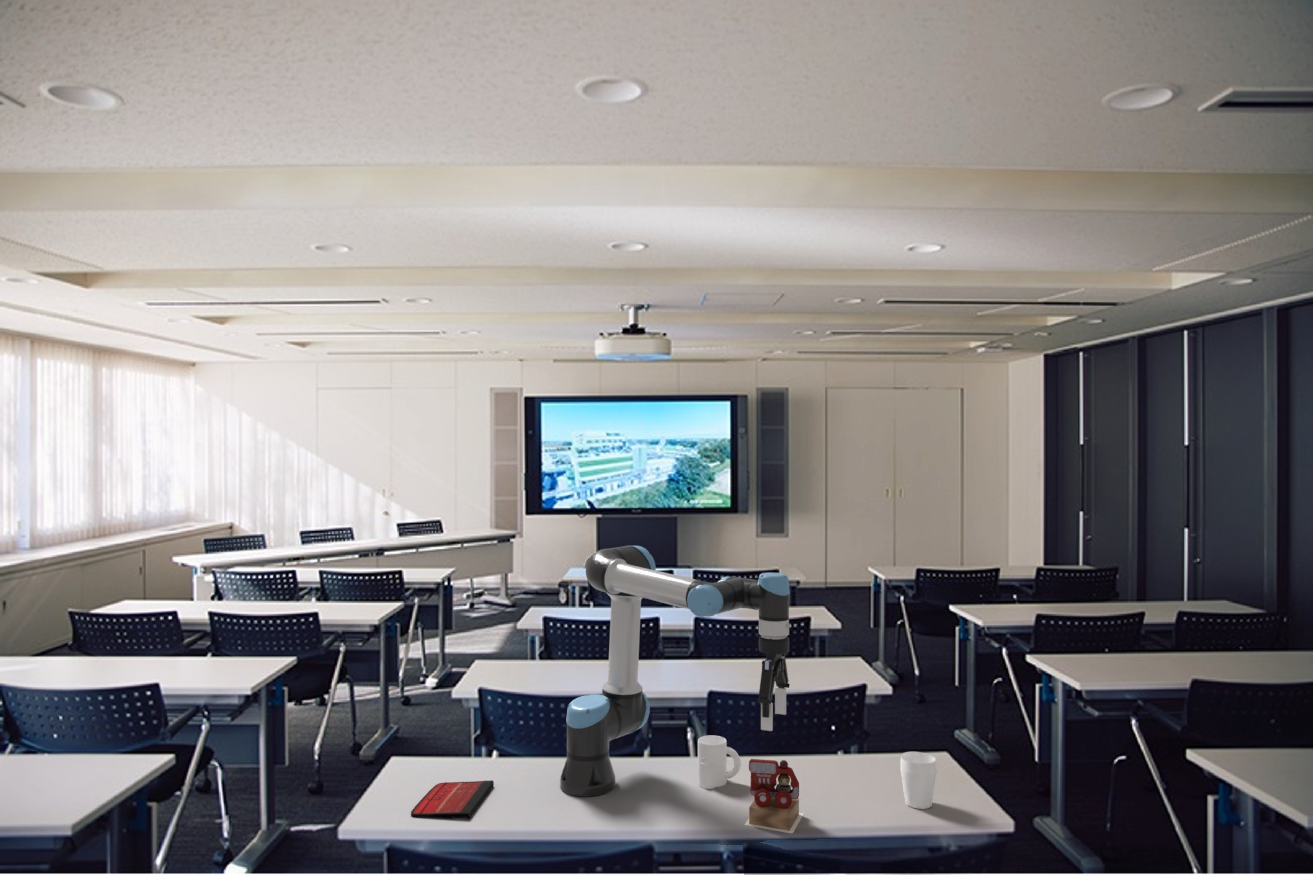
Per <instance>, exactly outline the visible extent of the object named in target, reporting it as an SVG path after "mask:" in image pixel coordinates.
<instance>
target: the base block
mask: <svg viewBox="0 0 1313 875" xmlns="http://www.w3.org/2000/svg"><path fill="white" fill-rule="evenodd" d="M799 805H800V798H799V797H798V798H797V799H792V803H791V805H790V807H788V808H785V809H783V808H780V807H779V806H778V805H777V804H776V802H775V798H772V797H771V802H770V804H769V805H768V806H766V807H760V806H758V805H757V804H756V802H755V800H753V801H752V803H751V804H750V806H749V807H748V808H749V810H748V814H749V816H748V819H749V824H753V825H759V826H765V827H770V828H776V829H781V830H787V831H790V829H791V827H792V826H793V824H794V822H795V820H796V819H797V817H798V815H799V813H800V806H799Z"/></svg>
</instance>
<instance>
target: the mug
mask: <svg viewBox="0 0 1313 875" xmlns="http://www.w3.org/2000/svg"><path fill="white" fill-rule="evenodd" d="M727 744H728V743H727V739H726V738H725V737H724V736H720V735H715V734H714V735H703V736H700V737H699V738H698V739H697V784H698V786H699V787H700V788H702V789H706V790H714V789H715V788H720V787H723V786H725V785H726V784H727V782H728V781H727V780H728V779H732V778H733V777H735V776H736V775H738V773H739V772H740V771H741V766H742V761H741V757H740V755H739V754H738V752H737V751H736V750H735V749H733V748H732V747H730V746H727ZM727 756H730V757H731V758H732V760H733V767H732V768H731V769H730V770H729V771H727V769H728V767H727V763H728V762H727V761H728V759H727V758H728V757H727Z"/></svg>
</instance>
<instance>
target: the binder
mask: <svg viewBox="0 0 1313 875" xmlns="http://www.w3.org/2000/svg"><path fill="white" fill-rule="evenodd" d="M494 784H495V782H494V780H479V781H478V780H477V781H476V780H475V781H453V782H446V781H445V782H439V783H437V784H435V785H434V786H433V787H432V788H431V789H430V790H429V791H427V793H426V794H425V795H424V796H423V797H422V798H421V800H419V801H418V803H417V804H416V805H415V806H414V807H413V809H412V810H411V811H410V817H413V818H426V819H439V820H440V819H441V820H442V819H444V820H445V819H446V820H454V819H455V818H457V817H463V816H468V820H471V819H472V817H473V815H475V813H476V812H477V810H478V808H480V806H481V805H482V803H483V802H484V800H485V799H486V797H487V796H488V795H489V794H490V792H491V791H492V789H493V788H494Z"/></svg>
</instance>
